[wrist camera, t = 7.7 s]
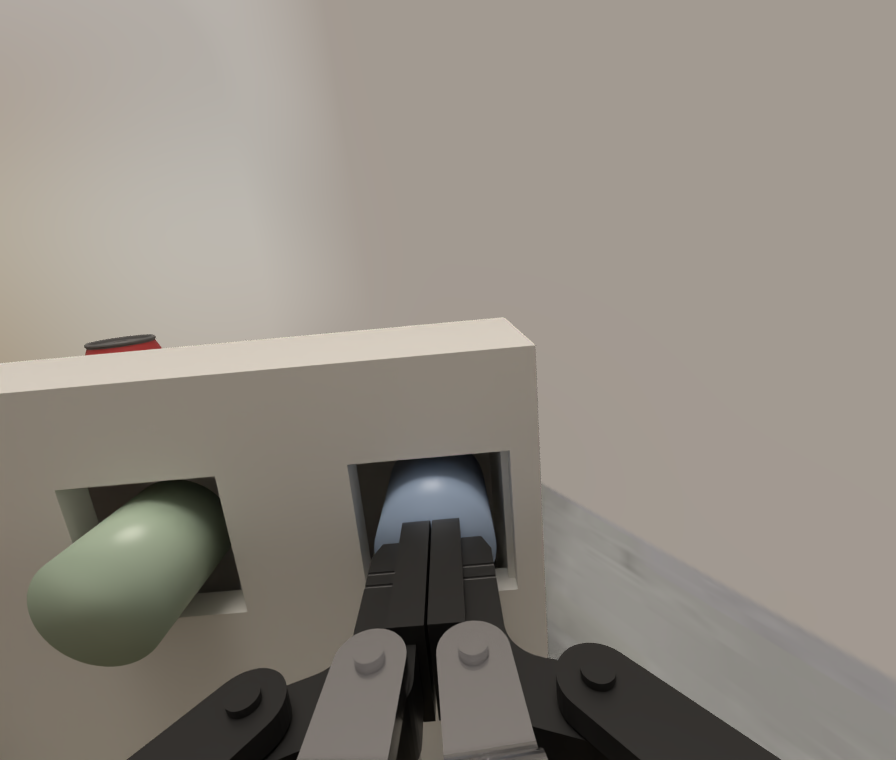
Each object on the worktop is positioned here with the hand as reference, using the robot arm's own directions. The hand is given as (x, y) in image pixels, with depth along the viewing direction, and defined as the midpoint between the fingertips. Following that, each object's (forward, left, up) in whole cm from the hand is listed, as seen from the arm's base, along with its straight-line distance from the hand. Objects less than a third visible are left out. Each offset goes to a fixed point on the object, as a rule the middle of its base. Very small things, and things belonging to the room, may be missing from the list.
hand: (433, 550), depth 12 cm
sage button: (-8, +1, -2) cm, 8 cm away
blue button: (0, +2, -2) cm, 2 cm away
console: (-8, +4, -9) cm, 13 cm away
